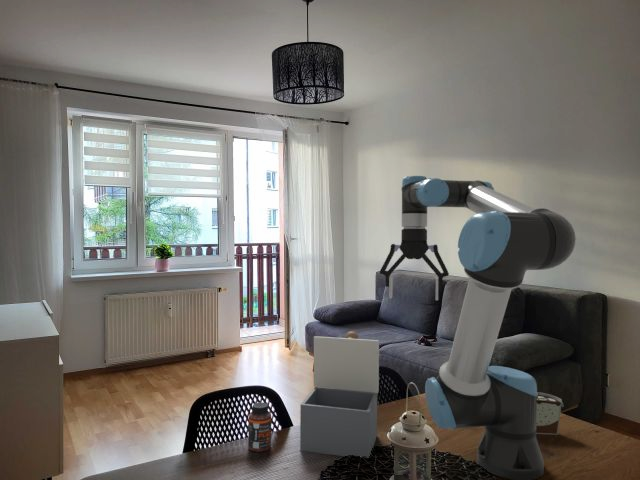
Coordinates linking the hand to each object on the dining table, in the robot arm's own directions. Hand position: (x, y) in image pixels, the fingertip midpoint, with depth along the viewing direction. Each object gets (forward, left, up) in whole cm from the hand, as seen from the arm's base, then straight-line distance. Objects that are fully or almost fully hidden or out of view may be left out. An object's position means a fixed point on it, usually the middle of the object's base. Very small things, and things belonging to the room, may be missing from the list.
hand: (413, 298), depth 140 cm
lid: (+8, +21, -17) cm, 29 cm away
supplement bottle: (+18, +44, -37) cm, 60 cm away
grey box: (+5, +27, -37) cm, 46 cm away
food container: (-29, -20, -37) cm, 51 cm away
